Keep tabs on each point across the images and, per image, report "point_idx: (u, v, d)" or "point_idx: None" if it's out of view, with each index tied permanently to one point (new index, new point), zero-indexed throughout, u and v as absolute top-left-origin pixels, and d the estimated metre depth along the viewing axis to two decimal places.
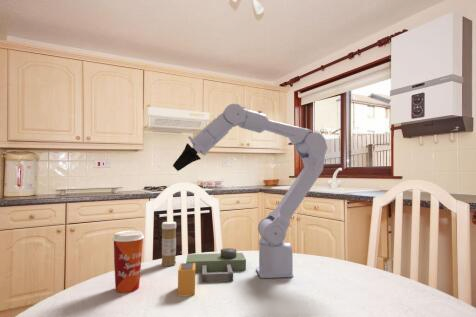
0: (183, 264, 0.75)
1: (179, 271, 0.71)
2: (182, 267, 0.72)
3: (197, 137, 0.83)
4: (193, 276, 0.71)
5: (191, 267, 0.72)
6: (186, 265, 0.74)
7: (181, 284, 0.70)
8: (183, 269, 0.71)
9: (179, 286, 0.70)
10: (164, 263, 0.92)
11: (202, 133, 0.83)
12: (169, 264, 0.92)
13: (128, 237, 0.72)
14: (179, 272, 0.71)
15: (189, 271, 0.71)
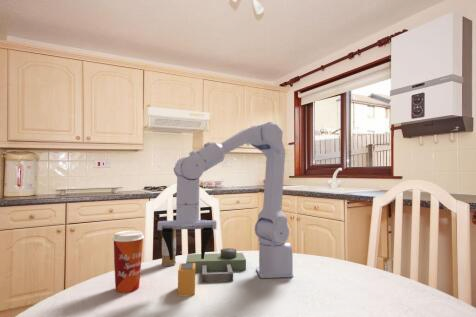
0: (183, 264, 0.75)
1: (179, 271, 0.71)
2: (182, 267, 0.72)
3: (194, 217, 0.72)
4: (193, 276, 0.71)
5: (191, 267, 0.72)
6: (186, 265, 0.74)
7: (181, 284, 0.70)
8: (183, 269, 0.71)
9: (179, 286, 0.70)
10: (164, 263, 0.92)
11: (195, 210, 0.72)
12: (169, 264, 0.92)
13: (128, 237, 0.72)
14: (179, 272, 0.70)
15: (189, 271, 0.71)
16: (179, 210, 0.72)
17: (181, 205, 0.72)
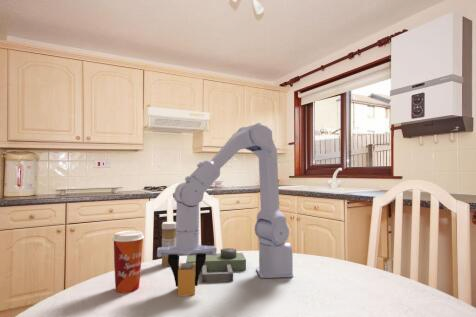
0: (183, 264, 0.75)
1: (179, 271, 0.71)
2: (182, 267, 0.72)
3: (194, 244, 0.72)
4: (193, 276, 0.71)
5: (191, 267, 0.72)
6: (186, 265, 0.74)
7: (181, 284, 0.70)
8: (183, 269, 0.71)
9: (179, 286, 0.70)
10: (164, 263, 0.92)
11: (195, 237, 0.72)
12: None
13: (128, 237, 0.72)
14: (179, 272, 0.71)
15: (189, 270, 0.71)
16: (179, 237, 0.71)
17: (181, 232, 0.71)
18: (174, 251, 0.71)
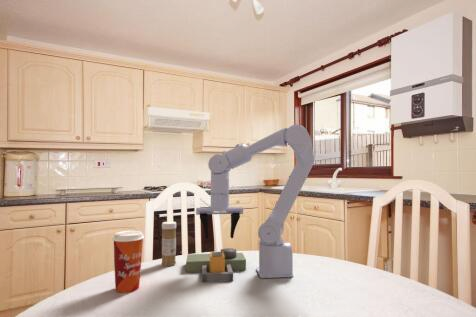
0: (213, 252, 0.86)
1: (211, 258, 0.82)
2: (213, 255, 0.83)
3: (226, 204, 0.89)
4: (223, 262, 0.82)
5: (221, 255, 0.83)
6: (216, 253, 0.85)
7: (213, 269, 0.82)
8: (214, 256, 0.82)
9: (211, 271, 0.81)
10: (164, 263, 0.92)
11: (226, 198, 0.89)
12: (169, 264, 0.92)
13: (128, 237, 0.72)
14: (211, 259, 0.82)
15: (219, 258, 0.82)
16: (214, 198, 0.89)
17: (215, 194, 0.89)
18: (210, 209, 0.88)
